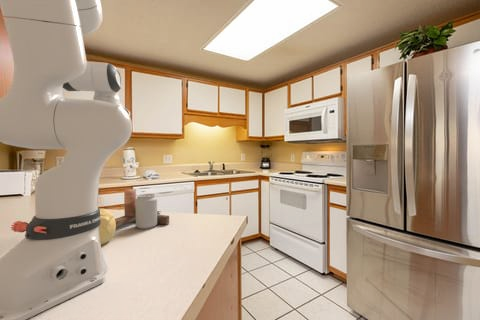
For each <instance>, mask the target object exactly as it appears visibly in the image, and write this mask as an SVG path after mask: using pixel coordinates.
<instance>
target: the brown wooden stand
mask: <svg viewBox="0 0 480 320" xmlns="http://www.w3.org/2000/svg"><path fill="white" fill-rule="evenodd" d="M123 191H124V192H123V193H124V197H123V198H124V200H123V201H124V205H123V206H124V209H123V211H124V216H120V217H117V218H115V221H116V227H118V226H121V225H123V224H126V223H129V222H132V221H135V220H136V199H137V189H136V188H127V189H124V190H123ZM159 224H160V225H166V226H167V225H169V224H170V215H164V214H158V215H157V225H159Z"/></svg>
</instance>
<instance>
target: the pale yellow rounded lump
mask: <svg viewBox="0 0 480 320" xmlns="http://www.w3.org/2000/svg"><path fill="white" fill-rule="evenodd" d="M99 209H100V218H101V219H100V225H99V236H100V244H101V246H102V245H105V244H106V243H108V242H109V241H110V240H112V238H113V237H114V235H115V233H116V231H115V229H116V221H115V219H116V218H115V216H114V214H113V212H110V211H108V210H107V209H106V208H99Z"/></svg>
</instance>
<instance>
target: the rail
mask: <svg viewBox="0 0 480 320" xmlns="http://www.w3.org/2000/svg"><path fill="white" fill-rule="evenodd" d="M159 212H161V213H162V211H161V210H160V211H159V210H157V215H161V214H160V213H159ZM134 224H135V225H136V220H135V221H132V222H129V223H126V224H123V225H121V226H118V227H116V229H115V232H116V231H118V230H121V229H124V228H127V227H129V226H132V225H134Z"/></svg>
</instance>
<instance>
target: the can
mask: <svg viewBox="0 0 480 320" xmlns="http://www.w3.org/2000/svg"><path fill="white" fill-rule="evenodd" d="M157 211H158V197H156V194H155V193H144V194H143V193H142V194H138V195H136V223H135V227H137V229H140V230H149V229H153V228H155V227H156V225H158V223H157Z"/></svg>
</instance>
